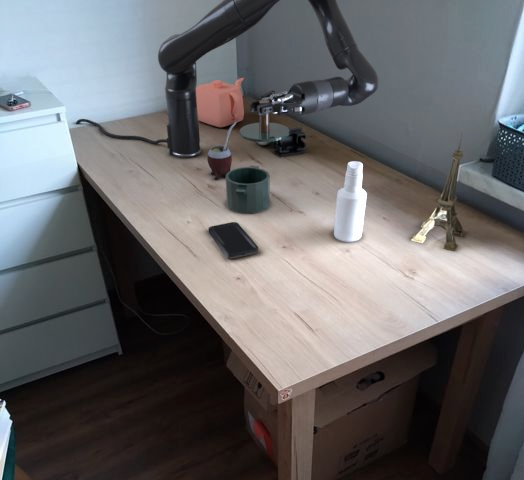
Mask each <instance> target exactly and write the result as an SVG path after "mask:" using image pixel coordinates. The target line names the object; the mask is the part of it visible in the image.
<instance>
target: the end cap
mask: <svg viewBox="0 0 524 480" xmlns="http://www.w3.org/2000/svg"><path fill="white" fill-rule="evenodd" d="M288 129H289V135H288V136H287V137H286V138H284V139H281V140H278V141H272V142H271V143H270V146H271V149H272V150H273V152H274V153H275V154H276V155H277V156H279V157H286V156H293V155H299V154H300V155H301V154H305V153H306V148H307V142H305V141H304V140H307V134H306V132H304V131H303V127H302V126H298V127H289V128H288ZM303 139H304V140H303Z"/></svg>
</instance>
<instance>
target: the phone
mask: <svg viewBox="0 0 524 480" xmlns="http://www.w3.org/2000/svg"><path fill="white" fill-rule="evenodd" d="M208 234H209V235H210V237H211V238H212V240H213V241H214V242H215V243H216V245H217V247H219V249H220V250H221V252H222V253H223V255H224V256H225V257H226V259H229V260H234V259H239V258H243V257H248V256H252V255H257V254H259V246H258V245H257V244H256V243H255V241H254V240H253V239H252V237H250V236H249V234H248V233H247V232H246V230H245V229H244V228H243V227H242V226H241V225H240V224H239V222H237V221H231V222H226V223H222V224H216V225H211V226H209V227H208Z"/></svg>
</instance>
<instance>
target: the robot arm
mask: <svg viewBox="0 0 524 480" xmlns="http://www.w3.org/2000/svg"><path fill="white" fill-rule="evenodd" d="M280 1H281V0H222V1H221V2H220V3H218V4H217V5H216V6H214V7H213V8H212V9H211V10H210V11H209V12H208V13H207V14H205V15H204V16H203V17H202V18H201V19H200V20H199V21H198V22H197V23H196V24H195V25H193V26H192V27H190V28H189V29H187V30H185V31H184V32H182V33H178V34H177V33H176V34H173V35H170V36H169V37H168V38H167V39H165V40H164V41H163V42H162V43H161V44H160V47H159V49H158V53H157V60H158V64H159V66H160V68H161V70H163V72H165V74H166V78H165V79H166V80H165V86H164V93H165V101H166V103H165V104H166V110H167V111H166V112H167V120H168V122H167V124H166V132H167V137H166V138H161V139H157V140H152V139H149V138H146V137H144V136H139V135H121V134H114V133H110V132H108V131H106V130H104V129H103V128H102V126H101V124H99V123H98V122H95V121H93V120H90V119H88V118H87V119H86V118H80V119H78V120H76V122H75V125H80V123H83V122H84V123H88V124H90V125H94V126H96V127H97V128H98V131H100V132H101V134H104V135H106V136H108V137H110V138H114V139H122V140H123V139H124V140H126V139H128V140H141V141H144V142H147V143H149V144H152V145H158V144H161V143H166V146H167V149H168V150H169V155H170V156H174V157H176V158H181V159H189V158H194V157H197V156H199V155H200V154H201V153H202V149H201V146H202V140H201V137H200V125H199V123H200V121H199V120H198V110H197V97H196V87H197V84H198V76H197V75H198V74H197V62H198V61H199V60H200V59H201V58H203V57H204V56H205V55H207V54H208V53H210V52H211V51H213V50H215V49H217V48H220V47H222V46H223V45H225V44H227V43H229V42H231V41H234V39H236V38H238V37H239V36H241V35H243V34H244V33H246V32H247V31H250V30H251V29H252V28H253V27H255V26H256V25H257V24H259V23H260V22H261V21H262V20H263V18H265V17H266V16H267V14H268V13H269V12H270V10H271V9H273V8H274V7H275V5H276V4H277V3H279V2H280ZM307 1H308V3H309V4H310V6H311V8H312V10H313V12H314V14H315V16H316V19H317V22H318V24H319V28H320V31H321V34H322V37H323V40H324V42H325V45H326V47H327V50H328V52H329V54H330V56H331V58H332V61H333V62H334V65H335V67H336V68H337V69H338V70H340V71H341V70H346V69H347V70H349V72H350V73H351V74H352V75H351V76H350V77H348V78H346V79H345V78H343V77H342V76H332V77H327V78H316V79H311V80H306V81H300V82H296V83H294V84H292V85H291V86H290V88H289V90H288V91H280V92H279V93H276V91H275V90H270V91H267V92H266V93H264V94H261V95H260V99H258V100H254V101H253V100H252V101H250V102H249V111H250V112H252V113H254V112H256V114H257V115H258V116H259V115H264V114H268V113H270V114H273V115H275V114H277V116H290V115H291V116H293V115H295V116H303V115H309V114H312V113H317V112H321V111H324V110H326V109H330V108H334V107H338V106H342V107H351V106H355V105H359V104H361V103H362V102H364V101H365V100H367V99H368V98H369V97H370V96H372V95H373V94H374V93H376V92H377V90H378V88H379V85H380V84H379V83H380V82H379V81H380V80H379V76H378V75H379V74H378V72H377V71H376V69H375V68H374V66H373V65H372V64H371V63H370V61H369V59H367V57H366V56H365V55H364V54H363V53H362V52H361V50H360V48H359V46H358V44H357V42H356V39H355V37H354V34H353V33H352V30H351V28H350V26H349V24H348V22H347V20H346V18H345V16H344V14H343V12H342V10H341V8H340V6H339V4H338V1H337V0H307ZM261 100H268V101H269V102H270V103H266V104H261V105H259V101H261Z"/></svg>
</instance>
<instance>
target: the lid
mask: <svg viewBox="0 0 524 480" xmlns="http://www.w3.org/2000/svg"><path fill="white" fill-rule="evenodd" d="M260 100H261V99H260ZM266 103H270V102H269V101H268V100H261V101H259V105H261V104H266ZM270 114H271V113H268V114H264V115H258V122H253V123H249V124H246V125H244V126H242V127H241V128H240V129H239V135H240V137H241V138H242V139H245V140H247V141H250V142H255V141H256V142H272V141H278V140H281V139H284V138H286V137H287V136H288V135H289V129H290V128H288V126H286V125H283V124H280V123H277V122H270V121H271V120H270V119H271V118H270V117H271V115H270ZM256 142H255V143H256Z"/></svg>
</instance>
